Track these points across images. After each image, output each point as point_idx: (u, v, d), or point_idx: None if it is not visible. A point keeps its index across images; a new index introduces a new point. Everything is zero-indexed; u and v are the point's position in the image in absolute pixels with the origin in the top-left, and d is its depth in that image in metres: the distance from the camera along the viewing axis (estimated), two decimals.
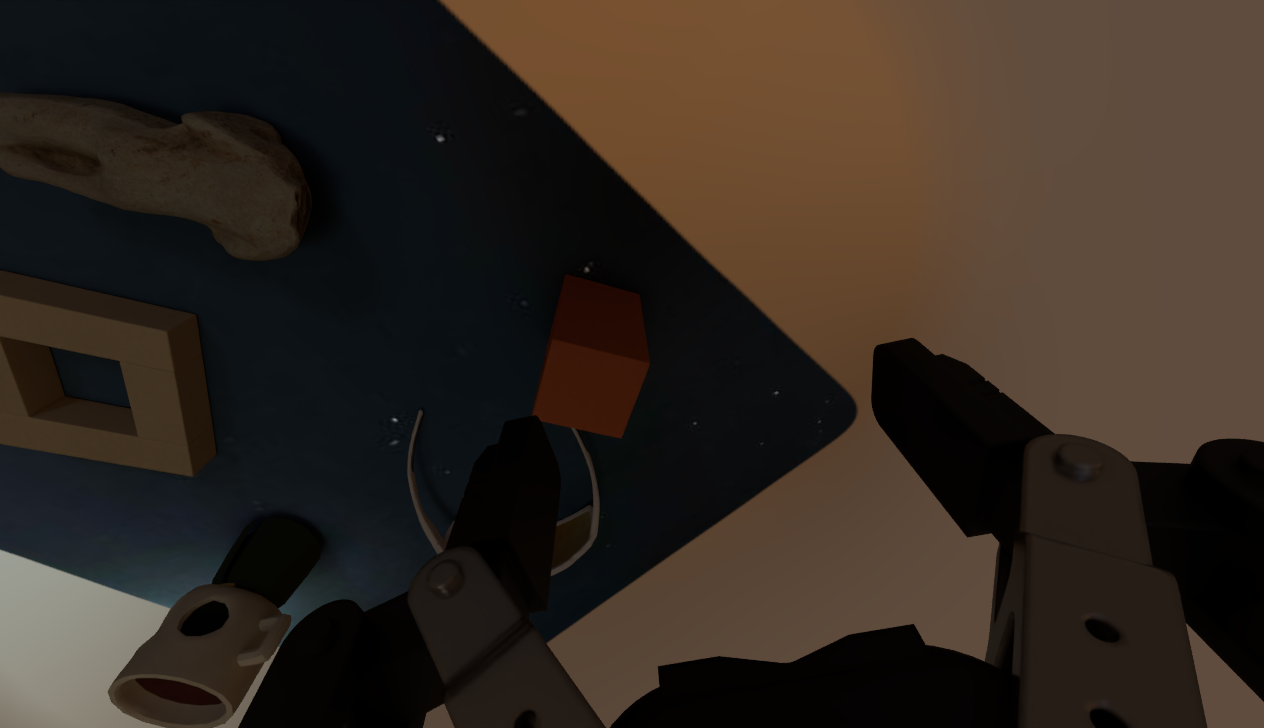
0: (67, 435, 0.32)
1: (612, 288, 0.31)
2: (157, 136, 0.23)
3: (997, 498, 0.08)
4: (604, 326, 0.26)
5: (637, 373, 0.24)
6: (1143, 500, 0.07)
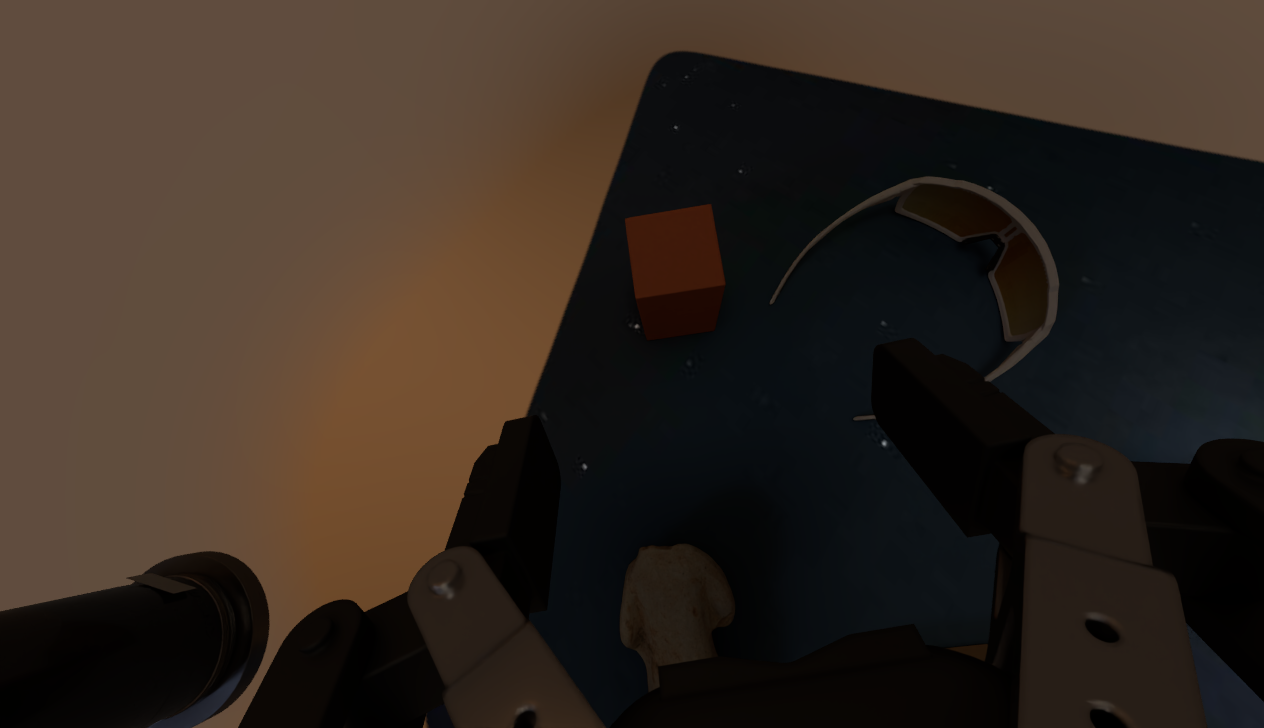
0: None
1: None
2: (649, 666, 0.28)
3: (997, 498, 0.08)
4: None
5: (637, 222, 0.28)
6: (1143, 500, 0.07)
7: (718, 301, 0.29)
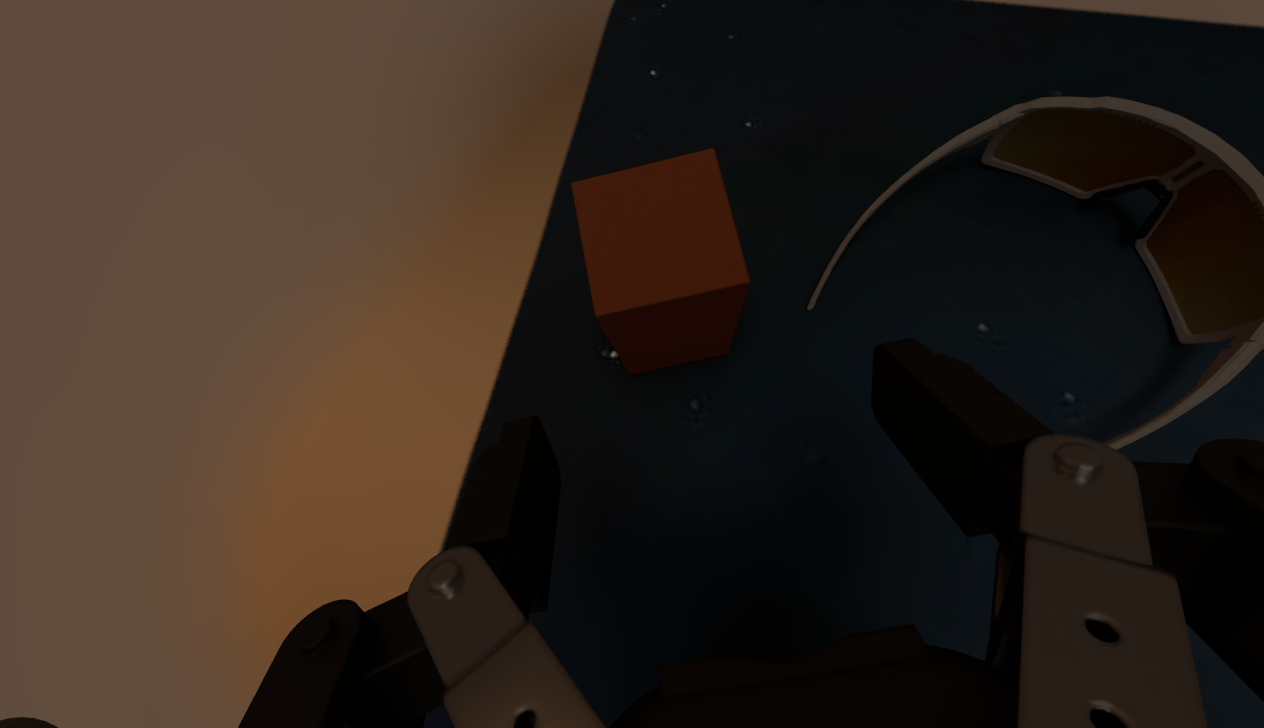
0: None
1: None
2: None
3: (997, 498, 0.08)
4: None
5: (593, 188, 0.16)
6: (1143, 500, 0.07)
7: (736, 311, 0.17)
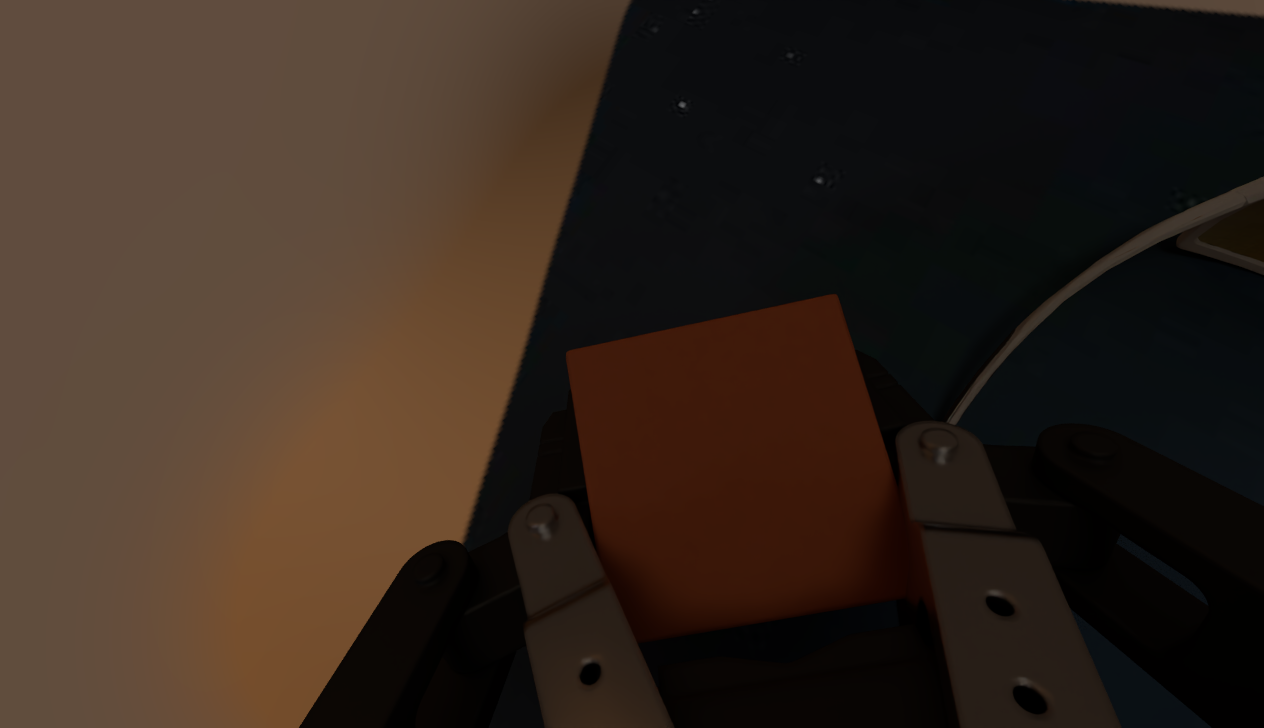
0: None
1: None
2: None
3: None
4: None
5: (606, 365, 0.09)
6: None
7: None
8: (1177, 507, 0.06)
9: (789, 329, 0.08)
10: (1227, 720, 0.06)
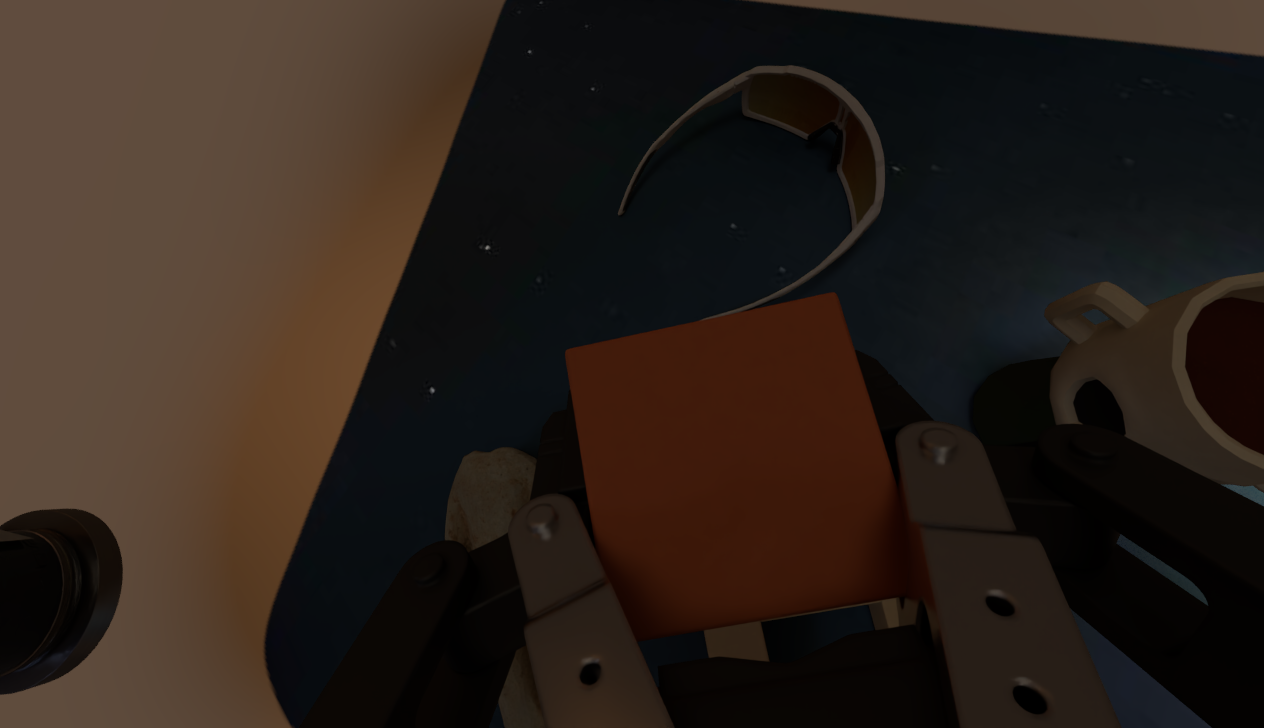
0: None
1: None
2: None
3: None
4: None
5: (605, 364, 0.09)
6: None
7: None
8: (1177, 507, 0.06)
9: (788, 327, 0.08)
10: (1227, 720, 0.06)
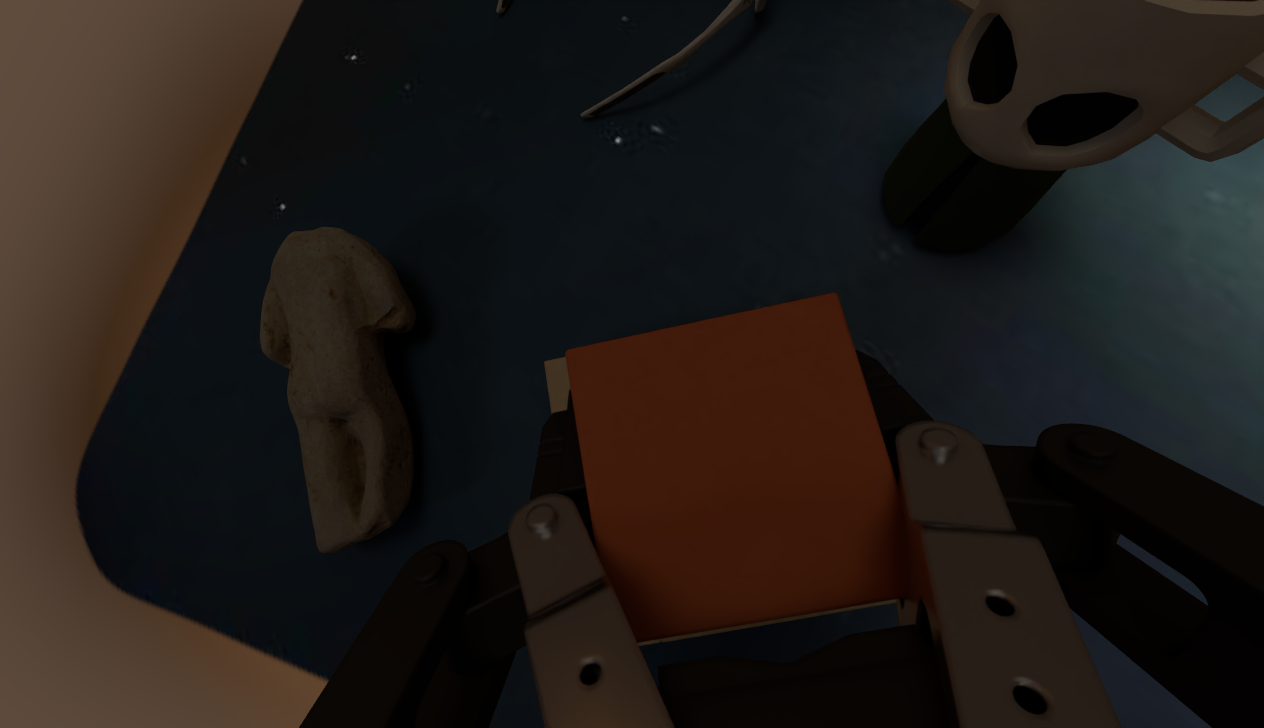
0: None
1: None
2: None
3: None
4: None
5: (605, 364, 0.09)
6: None
7: None
8: (1177, 507, 0.06)
9: (789, 328, 0.08)
10: (1227, 720, 0.06)
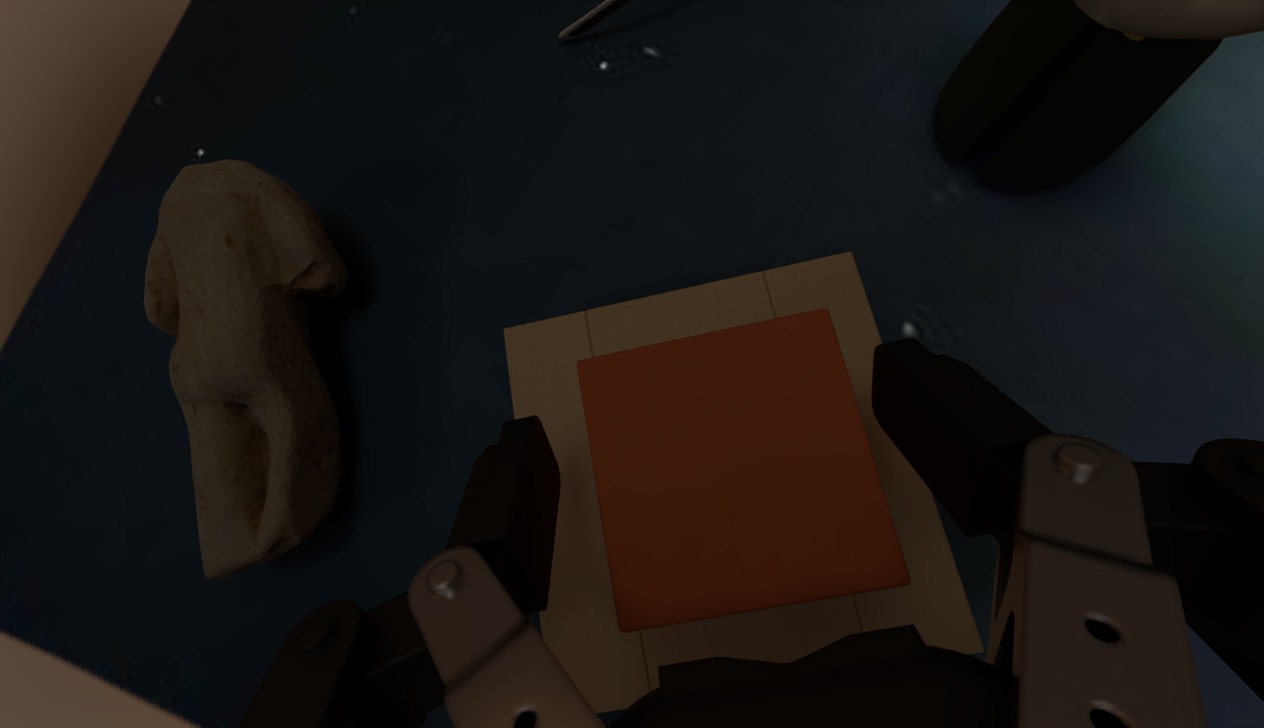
0: None
1: None
2: None
3: (997, 498, 0.08)
4: None
5: (614, 374, 0.09)
6: (1143, 500, 0.07)
7: None
8: None
9: (783, 341, 0.09)
10: None
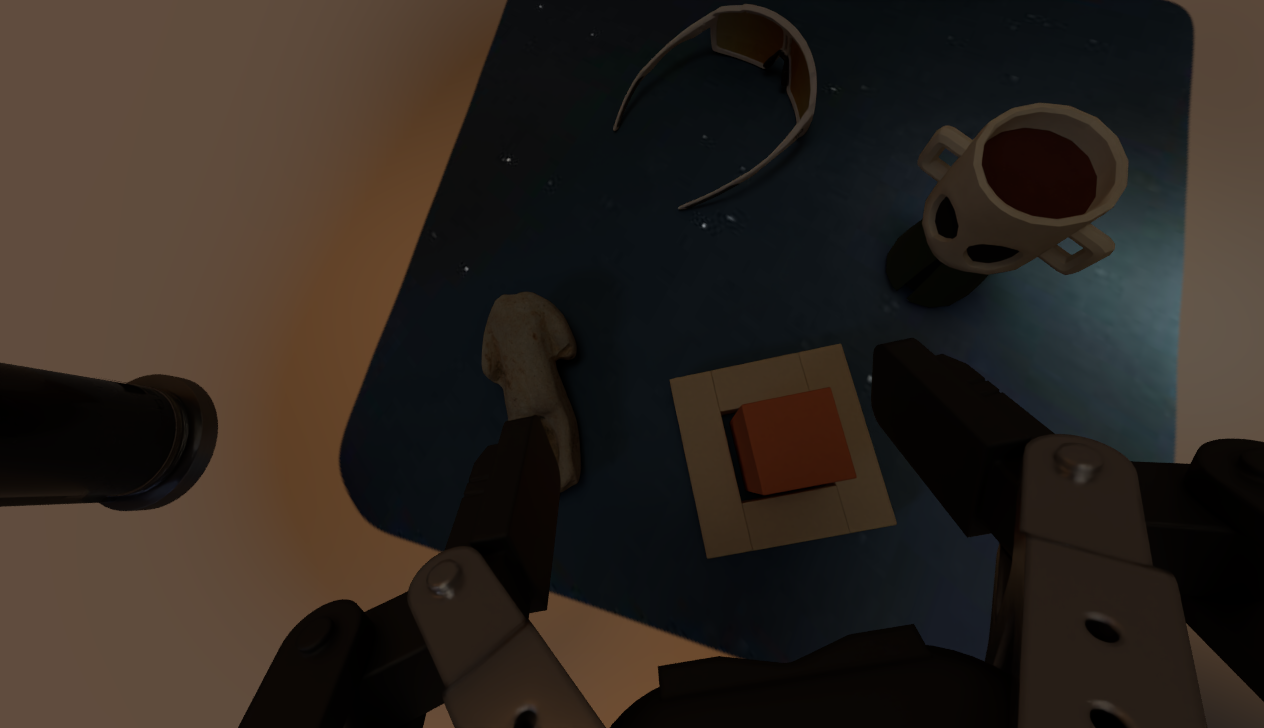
0: None
1: (735, 447, 0.35)
2: (504, 387, 0.35)
3: (997, 498, 0.08)
4: (745, 449, 0.29)
5: (755, 409, 0.27)
6: (1143, 500, 0.07)
7: None
8: None
9: (815, 398, 0.27)
10: None
